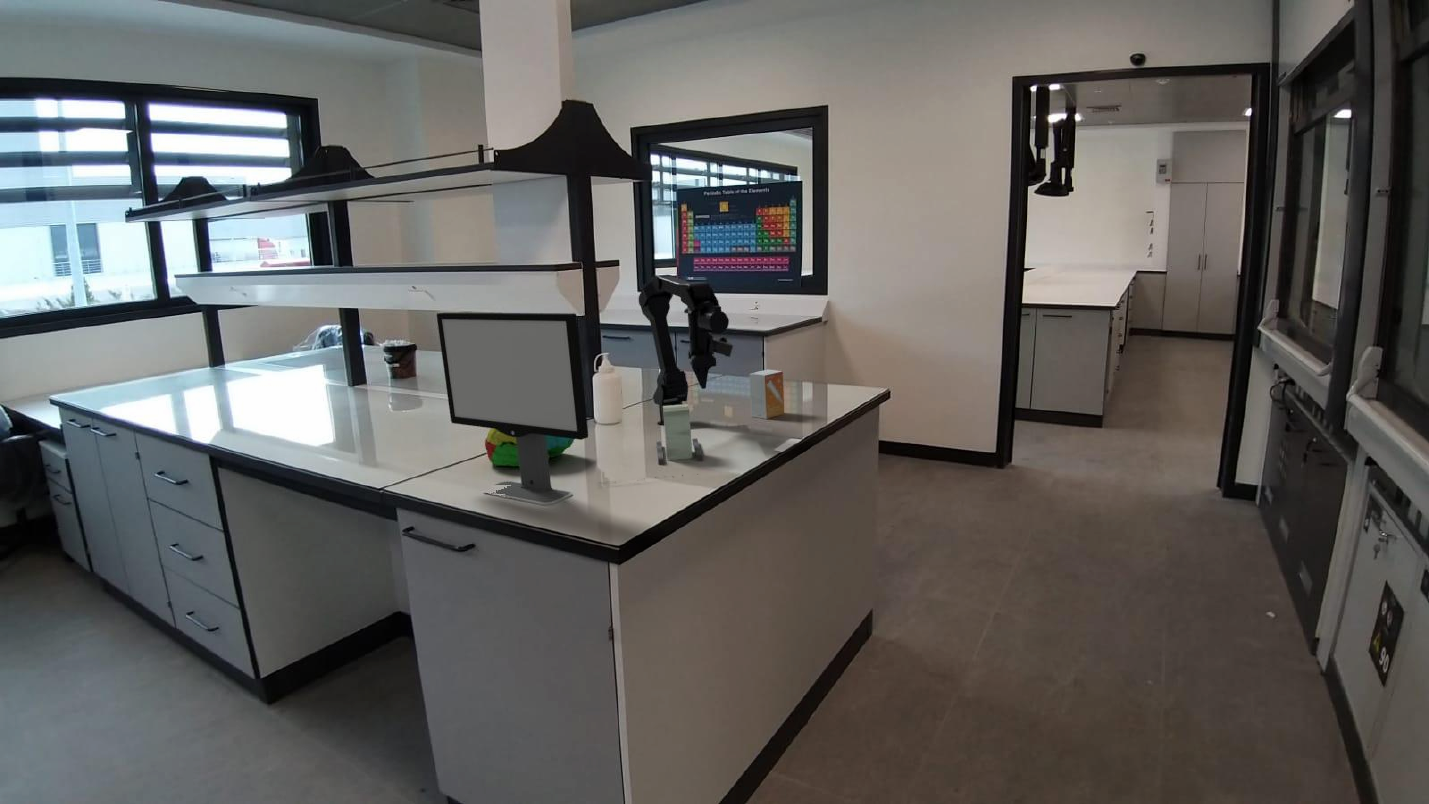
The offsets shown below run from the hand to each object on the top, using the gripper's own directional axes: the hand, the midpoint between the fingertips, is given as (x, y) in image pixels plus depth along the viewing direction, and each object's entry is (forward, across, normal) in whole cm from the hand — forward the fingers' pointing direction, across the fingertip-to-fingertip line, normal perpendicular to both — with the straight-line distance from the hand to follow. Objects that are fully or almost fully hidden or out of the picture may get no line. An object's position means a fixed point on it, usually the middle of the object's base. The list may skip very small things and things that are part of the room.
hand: (703, 388), depth 210 cm
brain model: (+13, -10, +45) cm, 48 cm away
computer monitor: (+13, -37, +43) cm, 58 cm away
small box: (+13, +18, -20) cm, 29 cm away
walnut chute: (+13, -20, +8) cm, 26 cm away
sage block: (+12, -22, +8) cm, 27 cm away
